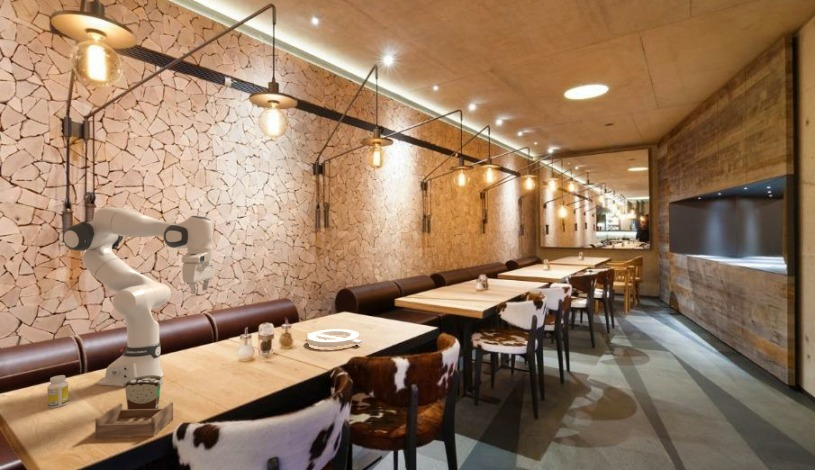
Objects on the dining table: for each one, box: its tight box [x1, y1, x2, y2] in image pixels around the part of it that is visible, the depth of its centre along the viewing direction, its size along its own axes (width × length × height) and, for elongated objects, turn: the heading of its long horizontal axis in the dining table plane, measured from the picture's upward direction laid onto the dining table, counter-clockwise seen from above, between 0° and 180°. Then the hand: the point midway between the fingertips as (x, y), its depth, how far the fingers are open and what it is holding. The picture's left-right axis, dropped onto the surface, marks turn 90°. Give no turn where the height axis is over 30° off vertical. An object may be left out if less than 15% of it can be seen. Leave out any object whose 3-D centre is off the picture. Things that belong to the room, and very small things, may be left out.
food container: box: [122, 375, 164, 410], centre depth 135 cm, size 12×6×10 cm, turn 92°
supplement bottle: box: [46, 374, 69, 409], centre depth 136 cm, size 5×5×10 cm
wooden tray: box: [94, 402, 174, 439], centre depth 120 cm, size 10×17×6 cm, turn 93°
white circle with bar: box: [306, 328, 363, 347], centre depth 216 cm, size 28×28×5 cm
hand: (199, 291), depth 154 cm, fingers open, 8 cm apart
